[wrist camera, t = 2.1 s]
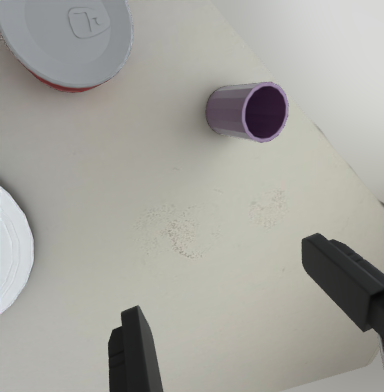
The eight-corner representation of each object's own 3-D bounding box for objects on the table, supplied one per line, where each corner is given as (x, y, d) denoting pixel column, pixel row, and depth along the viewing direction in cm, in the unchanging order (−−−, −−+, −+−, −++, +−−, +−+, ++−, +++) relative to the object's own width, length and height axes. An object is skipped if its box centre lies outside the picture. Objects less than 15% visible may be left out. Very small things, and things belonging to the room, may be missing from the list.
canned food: (123, 71, 29) (154, 56, 19) (54, 107, 27) (51, 110, 18) (80, -11, 25) (92, -79, 16) (-2, 25, 24) (-45, -28, 14)
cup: (199, 127, 34) (234, 133, 27) (213, 79, 33) (253, 72, 26) (237, 139, 37) (277, 148, 30) (251, 95, 36) (295, 93, 29)
